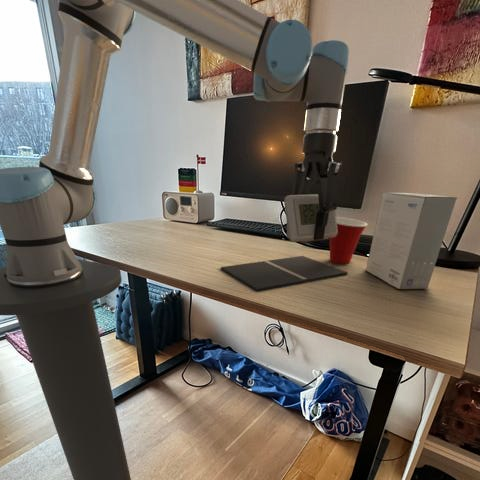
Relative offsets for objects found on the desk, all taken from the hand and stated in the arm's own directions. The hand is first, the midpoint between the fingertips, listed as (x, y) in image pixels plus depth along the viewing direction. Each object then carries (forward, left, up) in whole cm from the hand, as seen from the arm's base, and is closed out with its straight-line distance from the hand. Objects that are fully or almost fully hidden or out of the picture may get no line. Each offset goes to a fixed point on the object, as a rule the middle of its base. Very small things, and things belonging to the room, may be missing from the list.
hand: (308, 236), depth 78 cm
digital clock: (0, -1, -1) cm, 1 cm away
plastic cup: (+15, +1, -9) cm, 18 cm away
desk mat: (-7, 0, -9) cm, 11 cm away
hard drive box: (+15, -17, -9) cm, 24 cm away
